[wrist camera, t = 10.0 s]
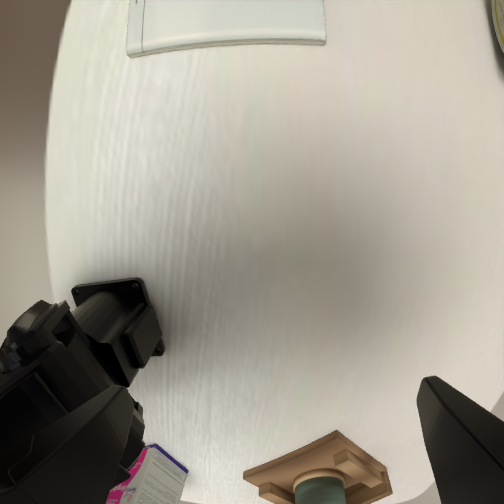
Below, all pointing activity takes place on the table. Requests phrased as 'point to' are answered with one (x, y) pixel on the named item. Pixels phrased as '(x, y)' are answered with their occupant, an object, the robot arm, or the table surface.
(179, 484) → the supplement box
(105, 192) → the table surface
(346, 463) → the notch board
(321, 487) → the oak spool
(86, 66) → the table surface
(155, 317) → the robot arm
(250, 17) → the hard drive
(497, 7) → the air freshener
